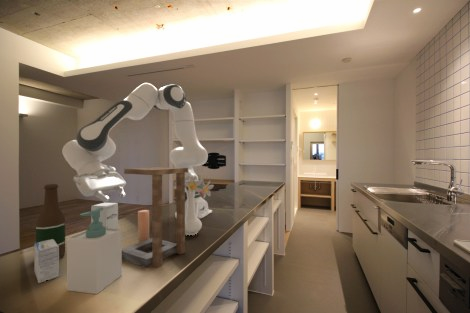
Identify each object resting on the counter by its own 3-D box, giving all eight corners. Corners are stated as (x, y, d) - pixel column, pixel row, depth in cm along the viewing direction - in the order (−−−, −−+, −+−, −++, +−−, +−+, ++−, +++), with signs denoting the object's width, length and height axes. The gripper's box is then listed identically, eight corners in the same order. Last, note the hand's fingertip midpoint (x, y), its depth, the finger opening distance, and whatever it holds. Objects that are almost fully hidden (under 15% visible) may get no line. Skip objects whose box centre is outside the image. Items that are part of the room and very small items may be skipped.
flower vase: (206, 240, 84) (206, 177, 84) (165, 236, 89) (165, 176, 90) (218, 230, 97) (218, 174, 97) (181, 226, 102) (181, 173, 102)
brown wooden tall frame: (156, 242, 83) (155, 167, 83) (188, 251, 75) (187, 168, 75) (120, 258, 70) (119, 168, 70) (154, 270, 62) (153, 170, 62)
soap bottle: (65, 291, 53) (65, 213, 53) (95, 272, 61) (95, 205, 61) (96, 295, 51) (96, 214, 51) (122, 275, 60) (122, 206, 60)
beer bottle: (41, 265, 65) (41, 186, 66) (30, 259, 69) (30, 185, 69) (70, 255, 72) (70, 183, 72) (59, 250, 76) (59, 182, 76)
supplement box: (105, 236, 89) (105, 206, 90) (90, 235, 91) (90, 205, 91) (118, 230, 97) (118, 202, 97) (104, 229, 98) (104, 202, 98)
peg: (144, 239, 86) (144, 209, 86) (151, 241, 84) (151, 210, 84) (135, 243, 82) (135, 211, 82) (142, 245, 80) (142, 213, 80)
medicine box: (59, 277, 59) (59, 245, 59) (37, 284, 56) (37, 250, 56) (54, 267, 64) (54, 238, 64) (33, 273, 61) (33, 242, 61)
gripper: (76, 169, 76) (100, 197, 74) (116, 167, 96) (136, 189, 95) (65, 181, 77) (89, 210, 75) (107, 176, 97) (127, 199, 95)
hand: (116, 198), depth 85 cm, fingers open, 8 cm apart
